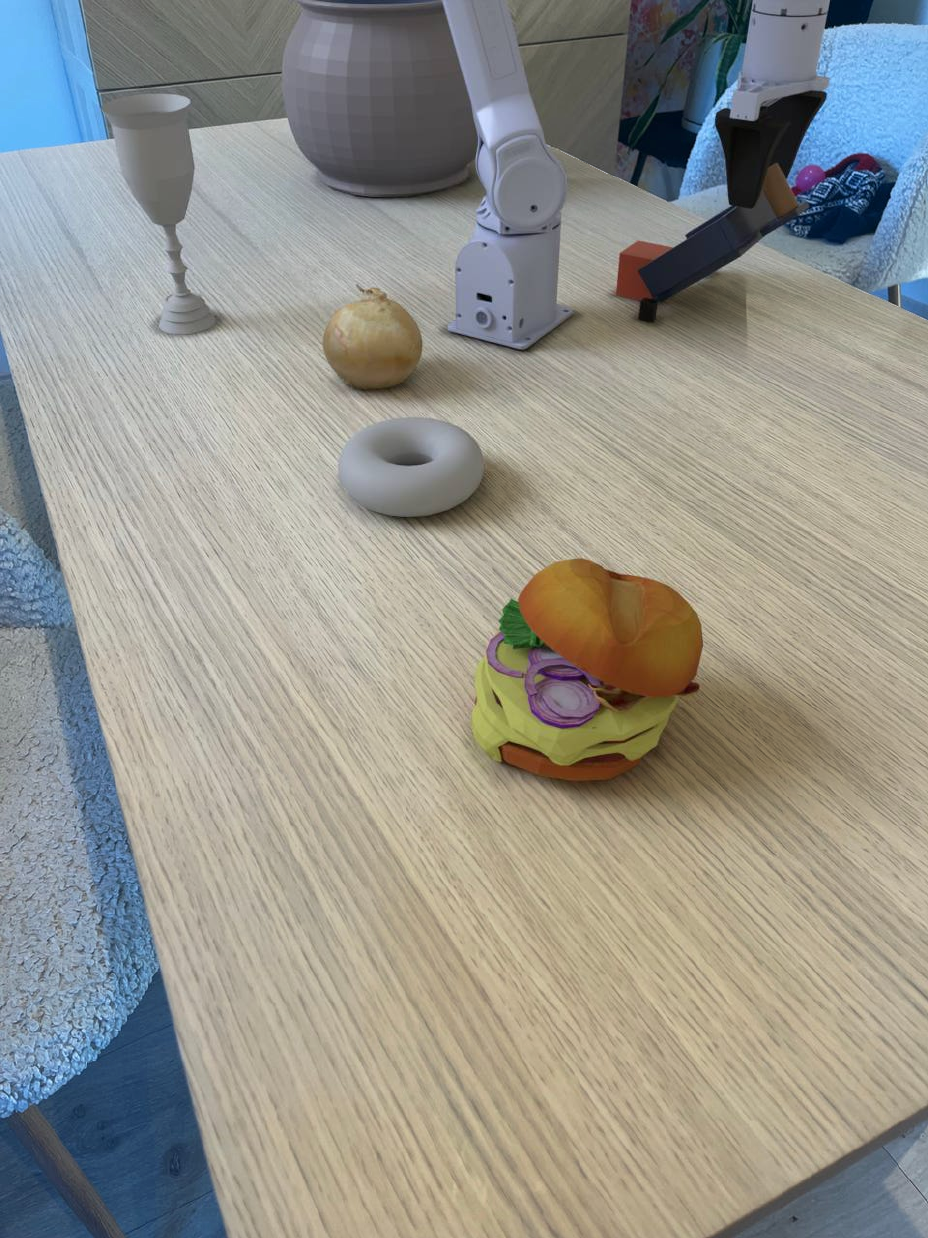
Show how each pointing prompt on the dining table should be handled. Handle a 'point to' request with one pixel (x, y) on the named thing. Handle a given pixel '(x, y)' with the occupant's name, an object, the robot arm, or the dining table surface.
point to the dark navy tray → (722, 238)
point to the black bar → (648, 309)
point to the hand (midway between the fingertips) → (757, 193)
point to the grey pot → (378, 96)
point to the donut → (410, 491)
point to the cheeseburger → (585, 672)
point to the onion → (372, 342)
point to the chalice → (161, 186)
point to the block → (636, 268)
